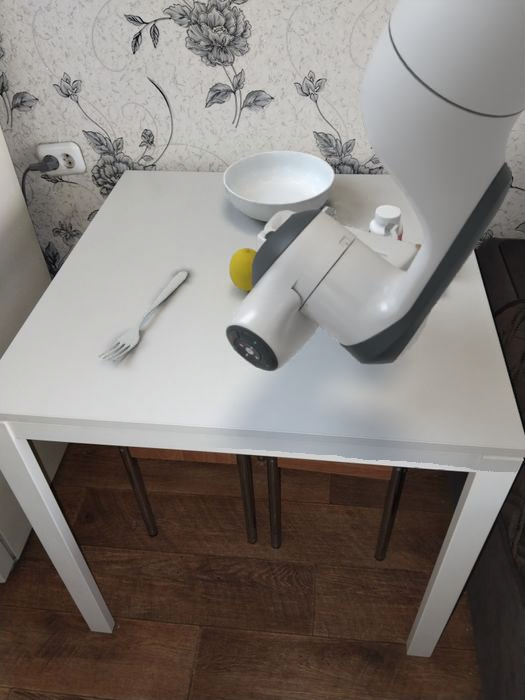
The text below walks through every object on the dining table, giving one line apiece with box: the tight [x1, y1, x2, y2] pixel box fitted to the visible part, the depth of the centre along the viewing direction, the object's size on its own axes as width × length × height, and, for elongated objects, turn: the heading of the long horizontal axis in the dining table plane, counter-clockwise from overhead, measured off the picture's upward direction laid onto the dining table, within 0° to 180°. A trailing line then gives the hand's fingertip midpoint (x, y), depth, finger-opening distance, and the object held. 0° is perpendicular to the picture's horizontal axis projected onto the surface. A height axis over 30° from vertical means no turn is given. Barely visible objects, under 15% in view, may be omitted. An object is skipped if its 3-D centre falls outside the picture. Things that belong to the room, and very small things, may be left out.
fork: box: [97, 270, 188, 363], centre depth 92 cm, size 3×24×2 cm, turn 158°
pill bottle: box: [368, 204, 404, 241], centre depth 96 cm, size 5×5×10 cm
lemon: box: [229, 247, 257, 292], centre depth 93 cm, size 6×6×8 cm
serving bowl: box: [222, 150, 336, 223], centre depth 112 cm, size 21×21×7 cm
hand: (362, 219), depth 82 cm, fingers open, 8 cm apart
